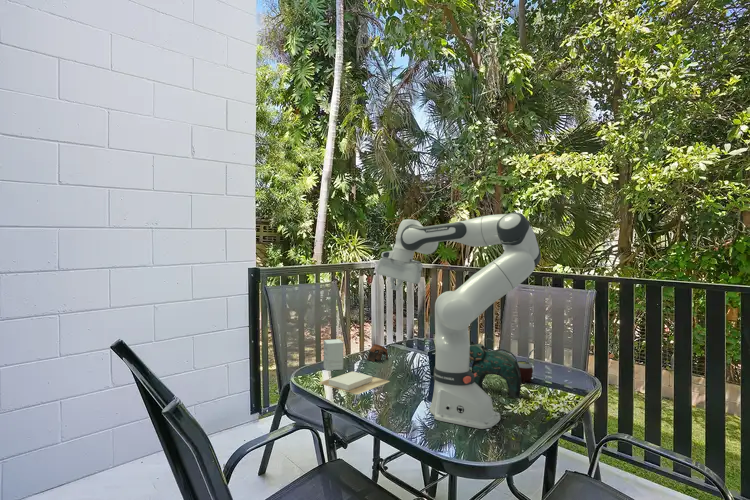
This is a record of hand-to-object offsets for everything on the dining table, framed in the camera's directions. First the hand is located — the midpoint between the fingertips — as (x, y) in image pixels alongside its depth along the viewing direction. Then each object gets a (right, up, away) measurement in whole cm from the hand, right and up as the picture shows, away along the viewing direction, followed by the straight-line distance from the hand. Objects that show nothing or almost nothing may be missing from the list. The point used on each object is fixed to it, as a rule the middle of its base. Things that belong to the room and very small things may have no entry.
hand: (394, 289), depth 176 cm
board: (-16, -36, -10) cm, 41 cm away
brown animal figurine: (-7, -36, +27) cm, 45 cm away
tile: (-13, -34, -7) cm, 37 cm away
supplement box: (-26, -36, +9) cm, 45 cm away
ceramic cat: (+37, -37, -16) cm, 55 cm away
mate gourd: (+52, -37, -4) cm, 64 cm away
